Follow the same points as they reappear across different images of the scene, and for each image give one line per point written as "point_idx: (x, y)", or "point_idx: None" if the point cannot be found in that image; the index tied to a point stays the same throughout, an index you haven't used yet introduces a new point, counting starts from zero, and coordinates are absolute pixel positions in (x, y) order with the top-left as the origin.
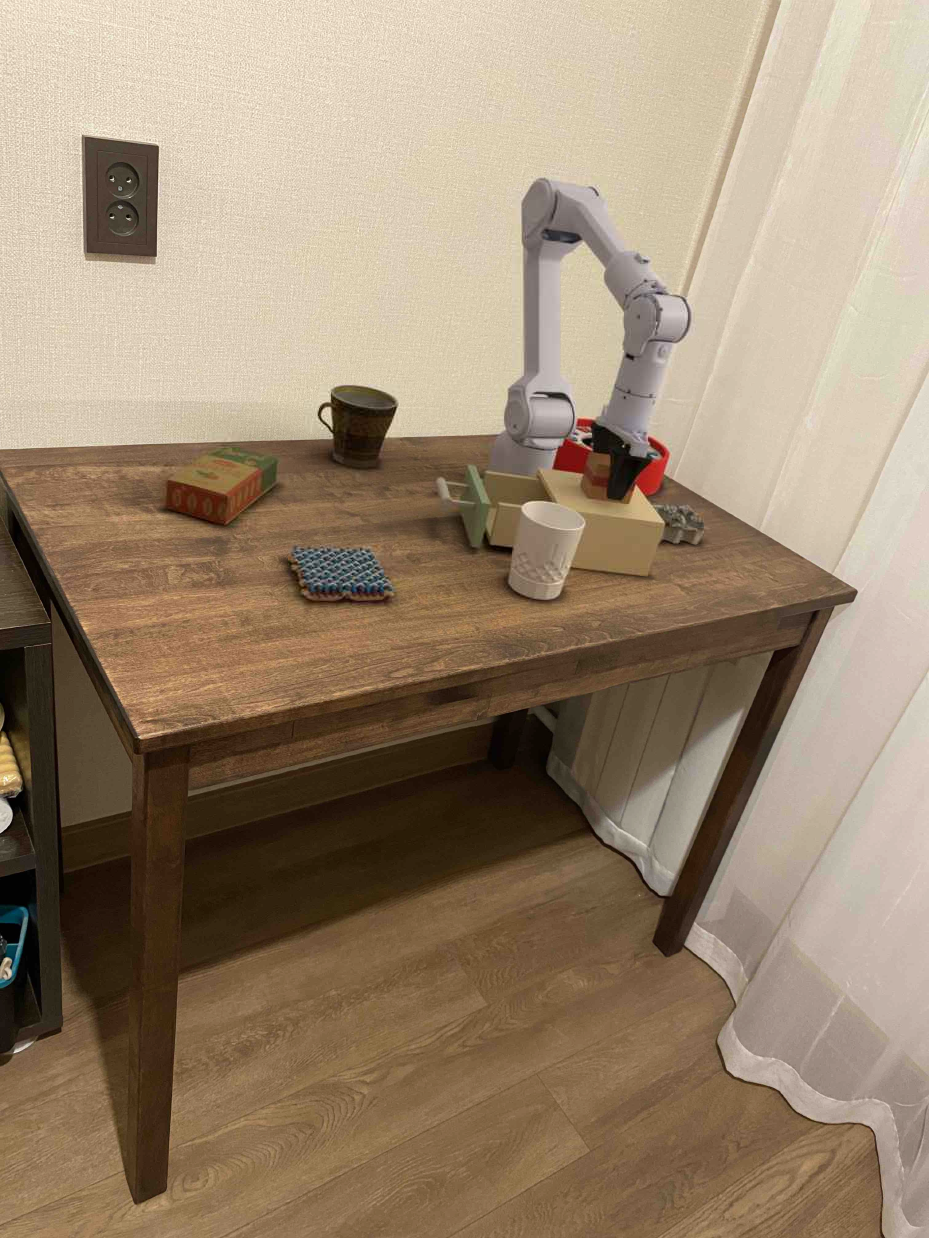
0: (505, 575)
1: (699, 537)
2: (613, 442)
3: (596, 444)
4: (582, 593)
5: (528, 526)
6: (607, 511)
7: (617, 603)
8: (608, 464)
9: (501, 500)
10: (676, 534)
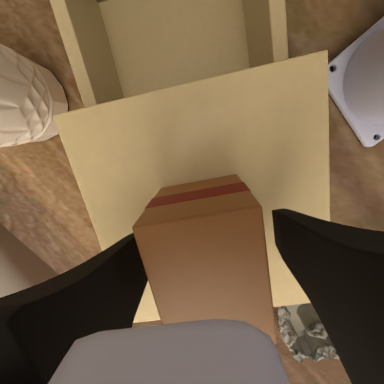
0: (43, 56)
1: (296, 339)
2: (341, 323)
3: (327, 243)
4: (59, 171)
5: None
6: (111, 225)
7: (60, 213)
8: (150, 264)
9: (247, 5)
10: (278, 315)
